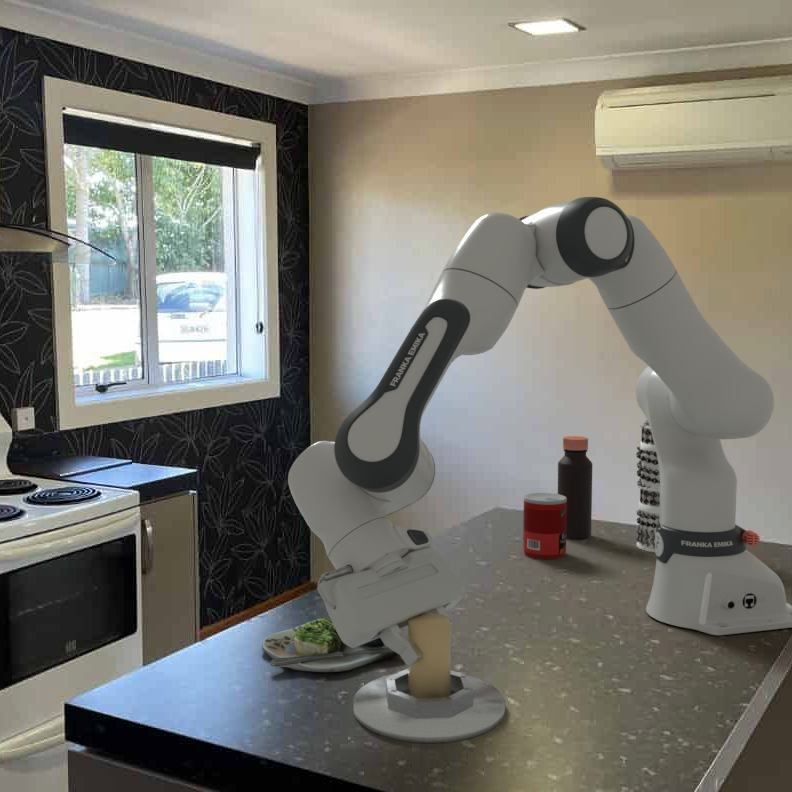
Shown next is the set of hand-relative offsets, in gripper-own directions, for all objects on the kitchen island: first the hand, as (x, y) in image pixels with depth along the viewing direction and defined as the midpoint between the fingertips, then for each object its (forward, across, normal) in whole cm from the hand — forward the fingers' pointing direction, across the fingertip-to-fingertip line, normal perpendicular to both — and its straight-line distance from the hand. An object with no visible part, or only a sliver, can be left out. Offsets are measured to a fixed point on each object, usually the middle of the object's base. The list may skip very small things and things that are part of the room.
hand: (433, 653), depth 115 cm
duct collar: (+4, 0, +5) cm, 7 cm away
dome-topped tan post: (+3, 0, +4) cm, 5 cm away
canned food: (-14, +67, +24) cm, 73 cm away
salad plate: (-11, +6, +21) cm, 25 cm away
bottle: (-16, +83, +26) cm, 88 cm away
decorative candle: (-4, +86, +14) cm, 87 cm away
